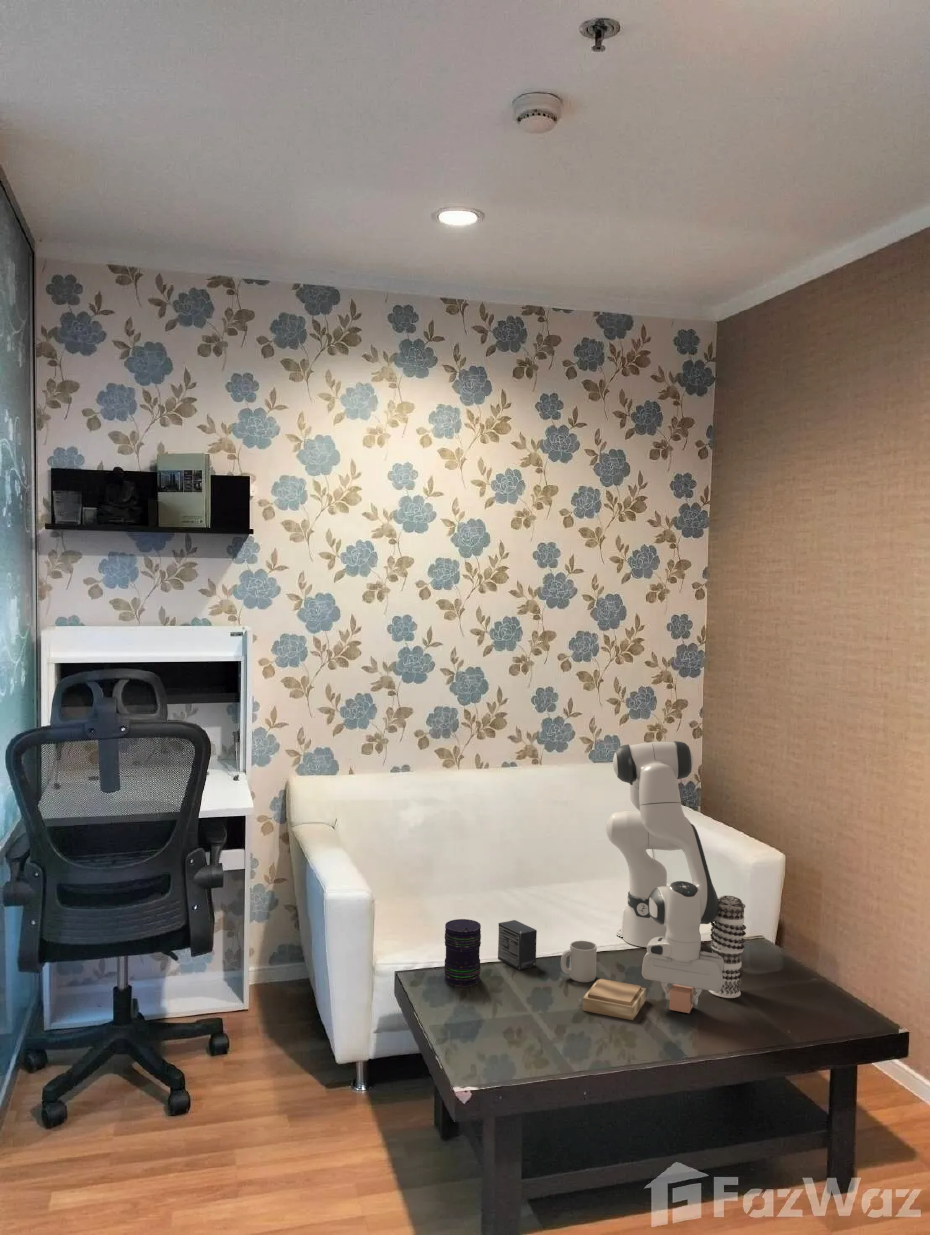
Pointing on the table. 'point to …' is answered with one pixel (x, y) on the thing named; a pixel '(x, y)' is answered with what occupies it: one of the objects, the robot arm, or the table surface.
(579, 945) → the cup
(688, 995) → the cube
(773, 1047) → the table surface
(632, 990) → the plinth
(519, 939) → the small box
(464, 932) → the storage jar
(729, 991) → the decorative candle
